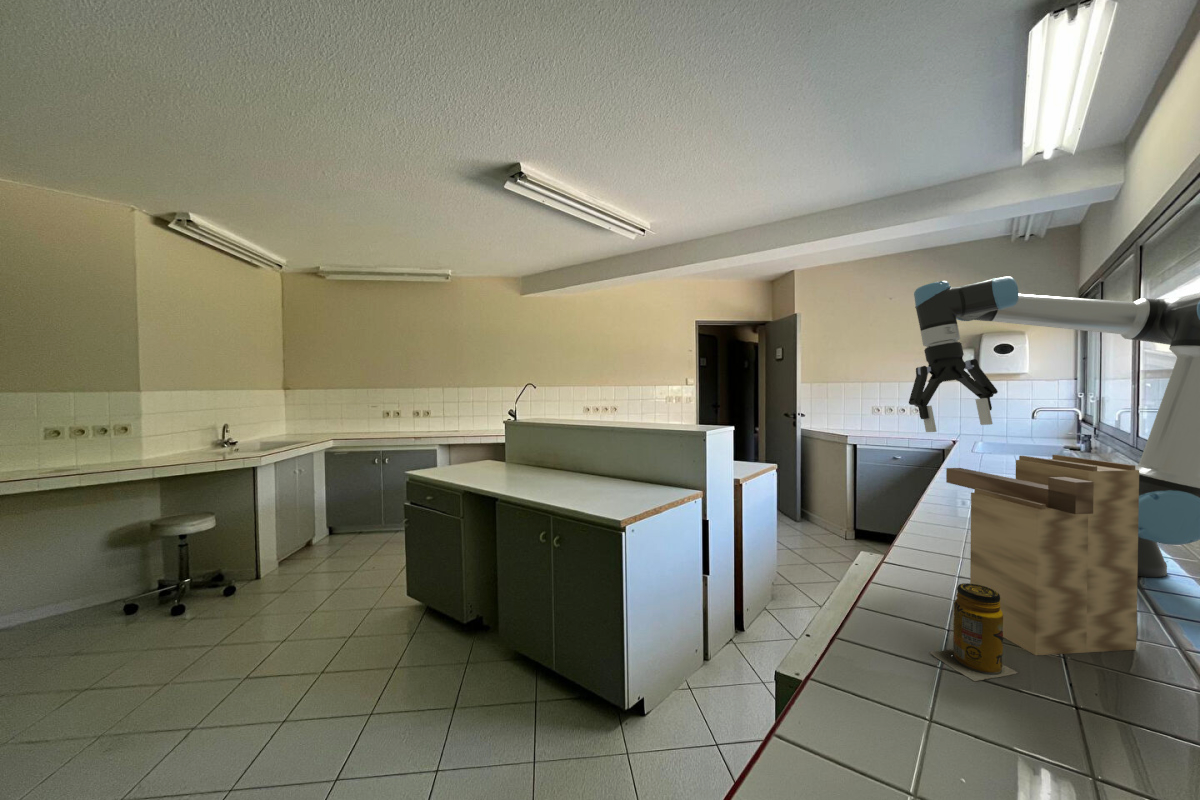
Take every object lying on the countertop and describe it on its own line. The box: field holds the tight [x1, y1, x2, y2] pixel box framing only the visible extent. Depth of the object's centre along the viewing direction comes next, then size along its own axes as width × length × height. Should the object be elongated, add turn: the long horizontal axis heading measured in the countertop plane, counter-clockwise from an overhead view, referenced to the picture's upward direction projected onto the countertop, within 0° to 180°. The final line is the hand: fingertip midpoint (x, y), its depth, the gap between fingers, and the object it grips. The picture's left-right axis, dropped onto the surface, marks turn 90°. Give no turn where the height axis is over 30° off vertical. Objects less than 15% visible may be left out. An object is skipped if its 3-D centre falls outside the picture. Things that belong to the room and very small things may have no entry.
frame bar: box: [945, 467, 1094, 514], centre depth 82 cm, size 3×24×5 cm, turn 4°
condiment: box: [928, 582, 1019, 682], centre depth 71 cm, size 7×8×12 cm
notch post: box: [969, 454, 1139, 656], centre depth 80 cm, size 18×12×31 cm, turn 94°
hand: (958, 428), depth 111 cm, fingers open, 13 cm apart
